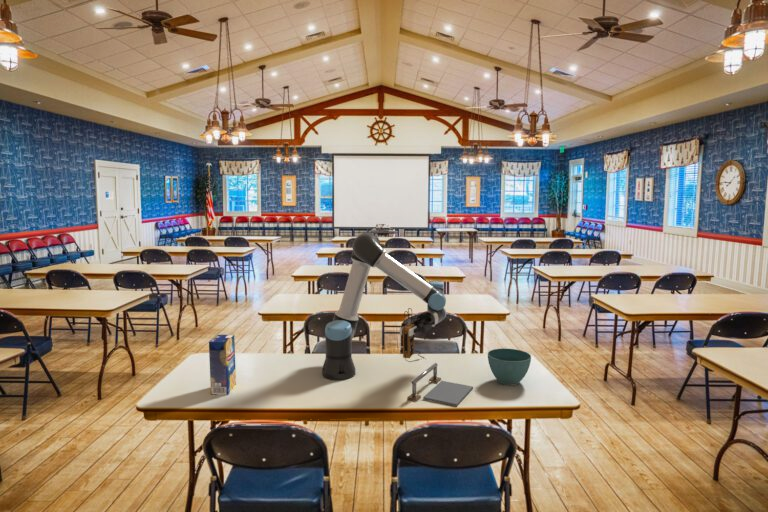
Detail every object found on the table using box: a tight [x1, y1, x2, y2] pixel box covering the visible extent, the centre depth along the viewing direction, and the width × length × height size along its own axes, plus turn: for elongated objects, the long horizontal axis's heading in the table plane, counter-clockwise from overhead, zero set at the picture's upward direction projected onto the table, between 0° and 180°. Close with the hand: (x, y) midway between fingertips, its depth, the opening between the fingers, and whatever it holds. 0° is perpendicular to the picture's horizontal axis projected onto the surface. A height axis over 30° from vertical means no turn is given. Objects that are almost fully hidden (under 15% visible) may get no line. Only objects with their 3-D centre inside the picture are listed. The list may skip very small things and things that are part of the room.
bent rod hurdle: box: [407, 362, 442, 402], centre depth 206 cm, size 4×26×8 cm, turn 152°
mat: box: [422, 380, 474, 407], centre depth 202 cm, size 14×20×1 cm
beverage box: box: [208, 334, 237, 396], centre depth 204 cm, size 7×11×22 cm, turn 0°
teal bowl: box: [487, 348, 532, 386], centre depth 215 cm, size 18×18×12 cm
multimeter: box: [402, 308, 427, 363], centre depth 205 cm, size 15×10×20 cm
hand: (405, 332), depth 203 cm, fingers closed on multimeter, 3 cm apart
